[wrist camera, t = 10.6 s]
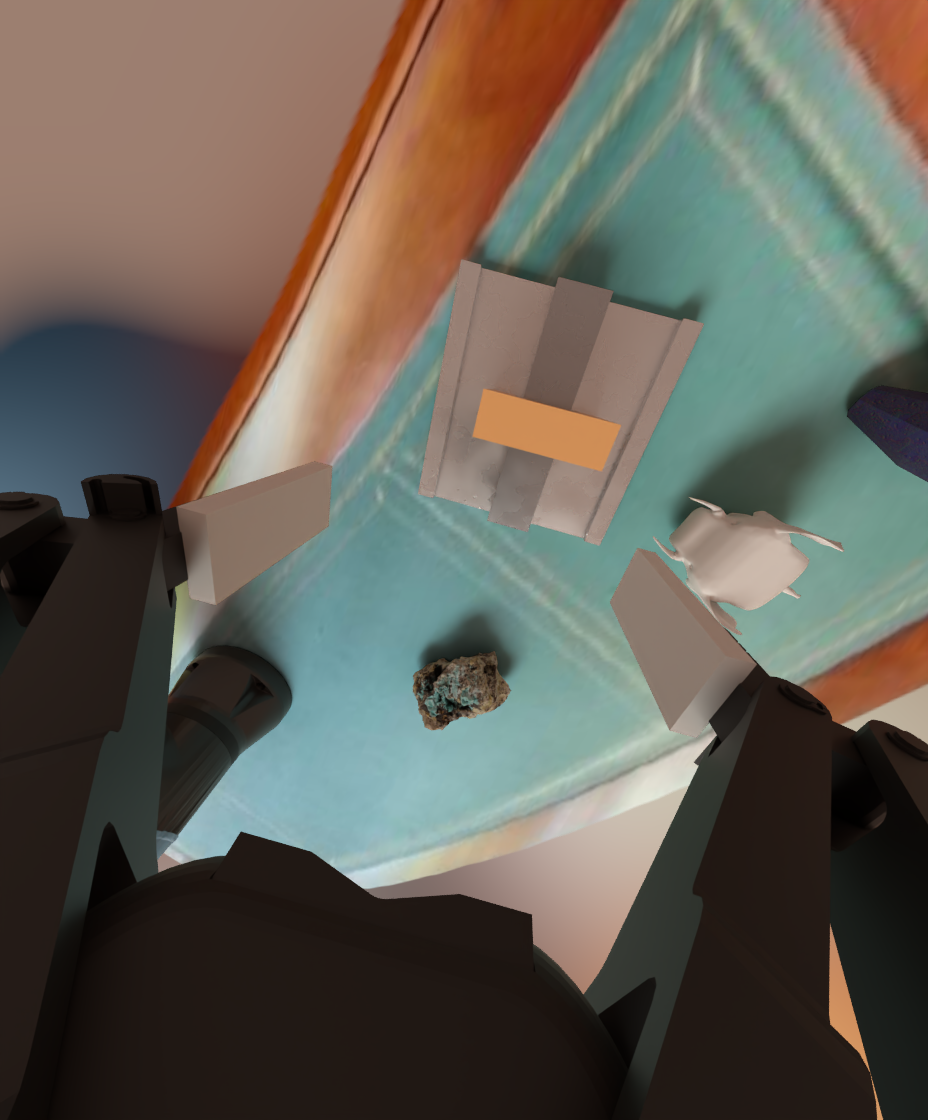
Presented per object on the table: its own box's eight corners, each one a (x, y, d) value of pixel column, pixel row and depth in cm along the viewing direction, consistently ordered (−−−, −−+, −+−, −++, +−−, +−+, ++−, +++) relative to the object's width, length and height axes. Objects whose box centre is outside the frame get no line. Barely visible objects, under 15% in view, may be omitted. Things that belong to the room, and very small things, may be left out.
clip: (484, 426, 31) (472, 436, 23) (493, 389, 29) (483, 388, 22) (583, 452, 30) (601, 471, 23) (597, 416, 29) (621, 425, 22)
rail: (422, 489, 35) (412, 499, 32) (464, 266, 27) (457, 249, 23) (596, 539, 34) (603, 553, 31) (694, 327, 26) (717, 318, 23)
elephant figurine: (699, 462, 30) (761, 488, 22) (808, 530, 31) (905, 577, 23) (625, 548, 34) (655, 595, 26) (722, 605, 35) (780, 666, 28)
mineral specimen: (486, 633, 40) (451, 684, 35) (525, 691, 42) (499, 749, 36) (421, 646, 48) (384, 690, 43) (456, 695, 50) (426, 743, 44)
